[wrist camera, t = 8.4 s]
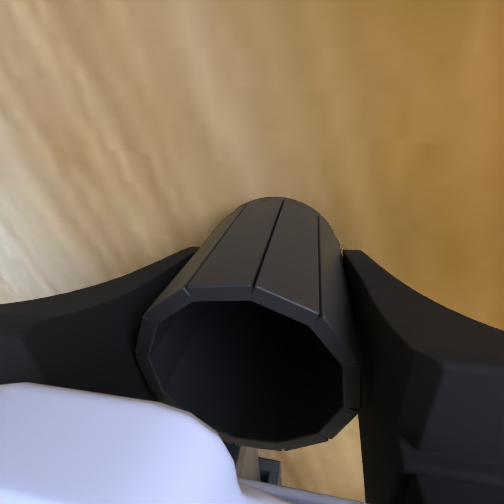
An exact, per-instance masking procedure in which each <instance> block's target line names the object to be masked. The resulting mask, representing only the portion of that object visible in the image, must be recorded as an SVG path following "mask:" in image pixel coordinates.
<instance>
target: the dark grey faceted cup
mask: <svg viewBox="0 0 504 504" xmlns="http://www.w3.org/2000/svg"><path fill="white" fill-rule="evenodd" d="M135 353H136V356H135V357H136V359H137V361H138V364H139V366H140V368H141V370H142V372H143V375H144V377H145V379H146V381H147V383H148V385H149V388H150V390H151V391H152V392H154V395H155V396H156V397H157V398H158V399H159V400H160V401H161V402H163V403H164V404H166V405H169V406H172V407H175V408H178V409H181V410H184V411H187V412H190V413H192V414H193V415H194V416H196V417H197V418H199V419H200V420H201V421H203V422H204V423H206V424H207V425H208V426H210V427H211V428H213V429H214V430H215V431H217V433H218V434H219V436H220V438H221V439H222V440H223V441H226V442H228V443H230V444H233V442H235V445H237V446H245V447H253V448H261V449H269V450H277V451H282V448H283V449H284V450H285V451H288V450H292V449H296V448H301V447H305V446H309V445H313V444H318V443H322V442H326V441H328V438H329V439H332V438H333V437H334V436H336V435H337V434H338V433H339V432H340V431H341V430H342V429H343V428H344V427H345V426H346V425H347V424H348V423H349V422H350V421H351V420H352V419H353V418H354V417H355V416H356V415H357V414H358V413H359V412H360V409H361V407H362V362H361V357H360V351H359V346H358V341H357V335H356V330H355V324H354V319H353V314H352V308H351V303H350V297H349V292H348V287H347V281H346V276H345V270H344V265H343V260H342V254H341V249H340V244H339V241H338V240H337V238H336V236H335V234H334V232H333V230H332V228H331V227H330V225H329V224H328V222H327V221H326V220H325V219H324V218H323V217H322V216H321V215H320V214H319V213H318V212H317V211H315V210H314V209H312V208H311V207H309V206H307V205H305V204H303V203H301V202H299V201H296V200H293V199H288V198H282V197H266V198H260V199H256V200H253V201H250V202H248V203H246V204H244V205H242V206H241V207H239V208H238V209H236V210H235V211H234V212H233V213H232V214H231V215H230V216H229V217H228V218H226V219H225V220H224V221H222V223H221V224H220V225H219V226H218V227H217V228H216V230H215V231H214V232H213V233H212V234H211V235H210V237H209V238H208V239H207V240H206V241H205V243H204V244H203V245H202V246H201V247H200V248H199V250H198V251H197V252H196V253H195V254H194V255H193V257H192V258H191V259H190V260H189V261H188V263H187V264H186V265H185V266H184V267H183V268H182V270H181V271H180V272H179V273H178V274H177V275H176V277H175V278H174V279H173V280H172V281H171V283H170V284H169V285H168V286H167V287H166V288H165V290H164V291H163V292H162V293H161V294H160V295H159V297H158V298H157V299H156V300H155V301H154V303H153V304H152V305H151V306H150V307H149V308H148V310H147V311H146V312H145V314H144V315H143V317H142V321H141V326H140V331H139V335H138V340H137V344H136V349H135Z"/></svg>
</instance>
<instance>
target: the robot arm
mask: <svg viewBox="0 0 504 504" xmlns="http://www.w3.org/2000/svg"><path fill="white" fill-rule="evenodd" d="M199 248H200V247H190V248H187V249H184V250H181V251H179V252H177V253H175V254H172V255H170V256H168V257H166V258H164V259H162V260H159V261H157V262H155V263H153V264H151V265H148V266H146V267H144V268H141V269H139V270H137V271H134V272H132V273H130V274H127V275H124V276H122V277H119V278H116V279H113V280H110V281H107V282H104V283H101V284H98V285H94V286H91V287H87V288H83V289H80V290H76V291H72V292H68V293H64V294H59V295H55V296H50V297H45V298H39V299H34V300H28V301H22V302H15V303H8V304H0V504H504V331H502V330H499V329H497V328H494V327H491V326H488V325H486V324H483V323H481V322H478V321H476V320H473V319H471V318H469V317H466V316H464V315H462V314H460V313H457V312H455V311H453V310H451V309H448V308H446V307H444V306H442V305H440V304H438V303H436V302H434V301H433V300H431V299H429V298H427V297H425V296H423V295H422V294H420V293H418V292H416V291H415V290H413V289H411V288H410V287H408V286H407V285H405V284H404V283H402V282H401V281H399V280H398V279H396V278H395V277H394V276H392V275H391V274H390V273H388V272H387V271H386V270H384V269H383V268H382V267H380V266H379V265H378V264H377V263H376V262H374V261H373V260H372V259H371V258H370V257H368V256H367V255H366V254H365V253H364V252H362V251H361V250H343V265H344V270H345V276H346V281H347V287H348V292H349V297H350V303H351V308H352V314H353V319H354V324H355V330H356V335H357V341H358V346H359V351H360V357H361V362H362V407H361V409H360V412H359V413H358V419H359V429H360V439H361V451H362V463H363V474H364V487H365V500H366V503H364V502H359V501H354V500H349V499H344V498H339V497H334V496H329V495H324V494H319V493H314V492H309V491H304V490H299V489H294V488H289V487H284V486H279V485H275V484H270V483H265V482H260V481H255V480H250V479H245V478H240V477H237V475H236V470H235V464H234V460H233V459H232V457H231V455H230V453H229V451H228V450H227V448H226V446H225V445H224V443H223V441H222V439H221V438H220V436H219V434H218V433H217V431H215V430H214V429H213V428H211V427H210V426H208V425H207V424H206V423H204V422H203V421H201V420H200V419H199V418H197V417H196V416H194V415H193V414H192V413H190V412H187V411H184V410H181V409H178V408H175V407H172V406H169V405H166V404H163V403H159V401H160V400H159V399H158V398H157V397H156V396H155V395H154V392H152V391H151V390H150V388H149V385H148V383H147V381H146V379H145V377H144V375H143V372H142V370H141V368H140V366H139V364H138V361H137V359H136V357H135V356H136V353H135V349H136V344H137V340H138V335H139V331H140V326H141V321H142V317H143V315H144V314H145V312H146V311H147V310H148V308H149V307H150V306H151V305H152V304H153V303H154V301H155V300H156V299H157V298H158V297H159V295H160V294H161V293H162V292H163V291H164V290H165V288H166V287H167V286H168V285H169V284H170V283H171V281H172V280H173V279H174V278H175V277H176V275H177V274H178V273H179V272H180V271H181V270H182V268H183V267H184V266H185V265H186V264H187V263H188V261H189V260H190V259H191V258H192V257H193V255H194V254H195V253H196V252H197V251H198V250H199Z"/></svg>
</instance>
